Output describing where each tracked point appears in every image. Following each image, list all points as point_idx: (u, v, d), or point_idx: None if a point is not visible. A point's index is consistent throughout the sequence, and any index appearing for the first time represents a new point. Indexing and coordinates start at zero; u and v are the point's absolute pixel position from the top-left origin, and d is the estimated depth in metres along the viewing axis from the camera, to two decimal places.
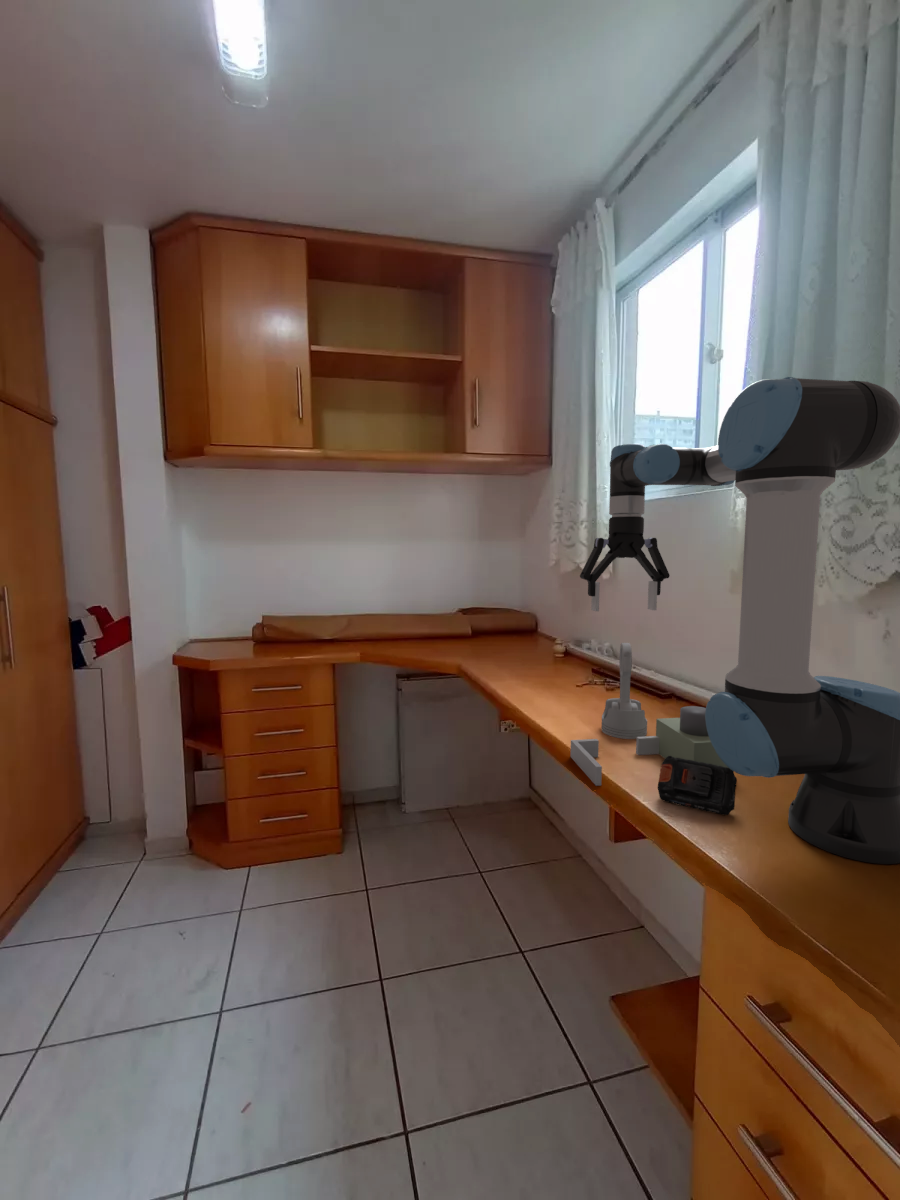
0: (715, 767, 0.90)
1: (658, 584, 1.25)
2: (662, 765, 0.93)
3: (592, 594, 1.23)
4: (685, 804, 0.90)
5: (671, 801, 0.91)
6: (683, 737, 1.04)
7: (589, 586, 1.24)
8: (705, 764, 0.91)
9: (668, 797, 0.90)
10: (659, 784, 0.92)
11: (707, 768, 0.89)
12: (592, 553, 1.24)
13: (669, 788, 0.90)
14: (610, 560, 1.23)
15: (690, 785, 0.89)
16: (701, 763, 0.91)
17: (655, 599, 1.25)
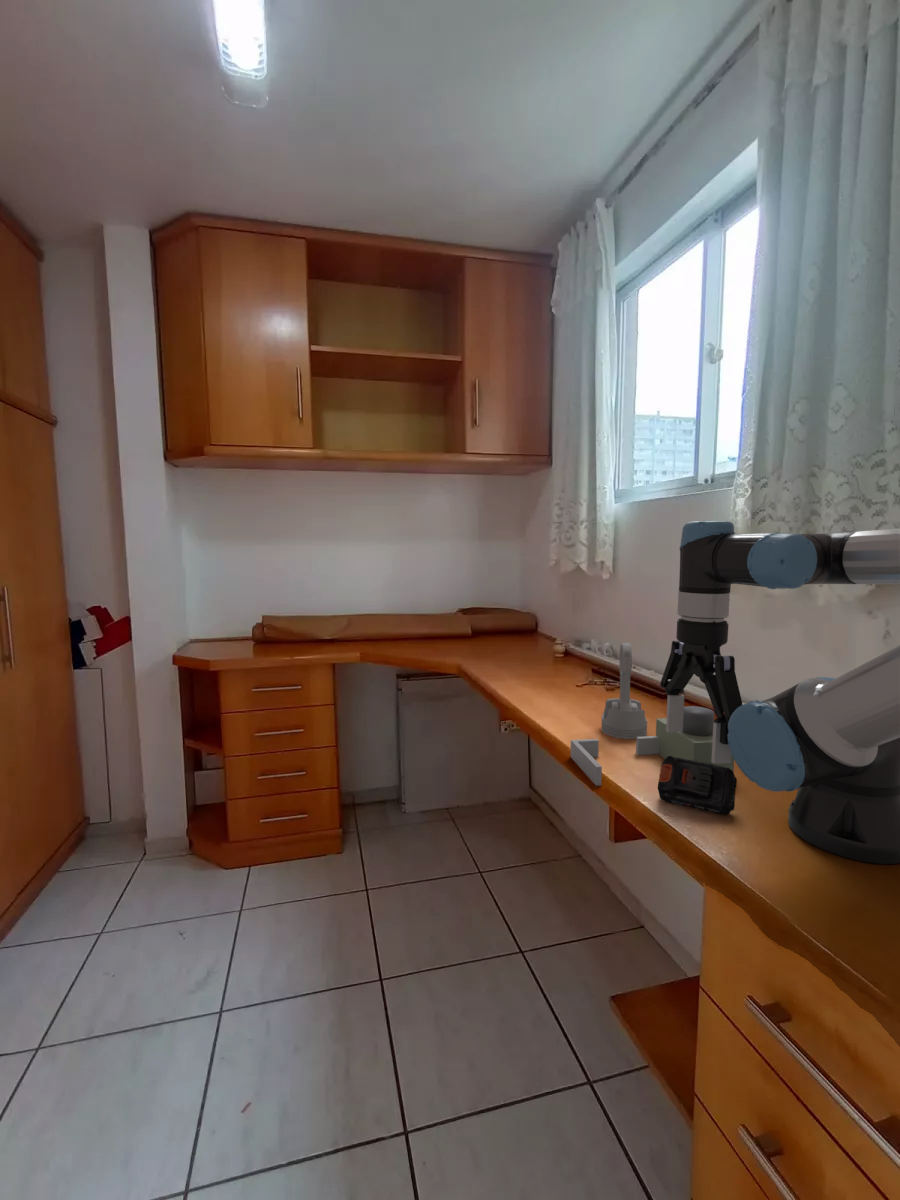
0: (715, 767, 0.90)
1: (723, 728, 0.82)
2: (662, 765, 0.93)
3: None
4: (685, 804, 0.90)
5: (671, 801, 0.91)
6: (683, 737, 1.04)
7: None
8: (705, 764, 0.91)
9: (668, 797, 0.90)
10: (659, 784, 0.92)
11: (707, 768, 0.90)
12: None
13: (669, 788, 0.90)
14: (679, 672, 0.93)
15: (690, 785, 0.89)
16: (701, 763, 0.91)
17: (713, 747, 0.83)
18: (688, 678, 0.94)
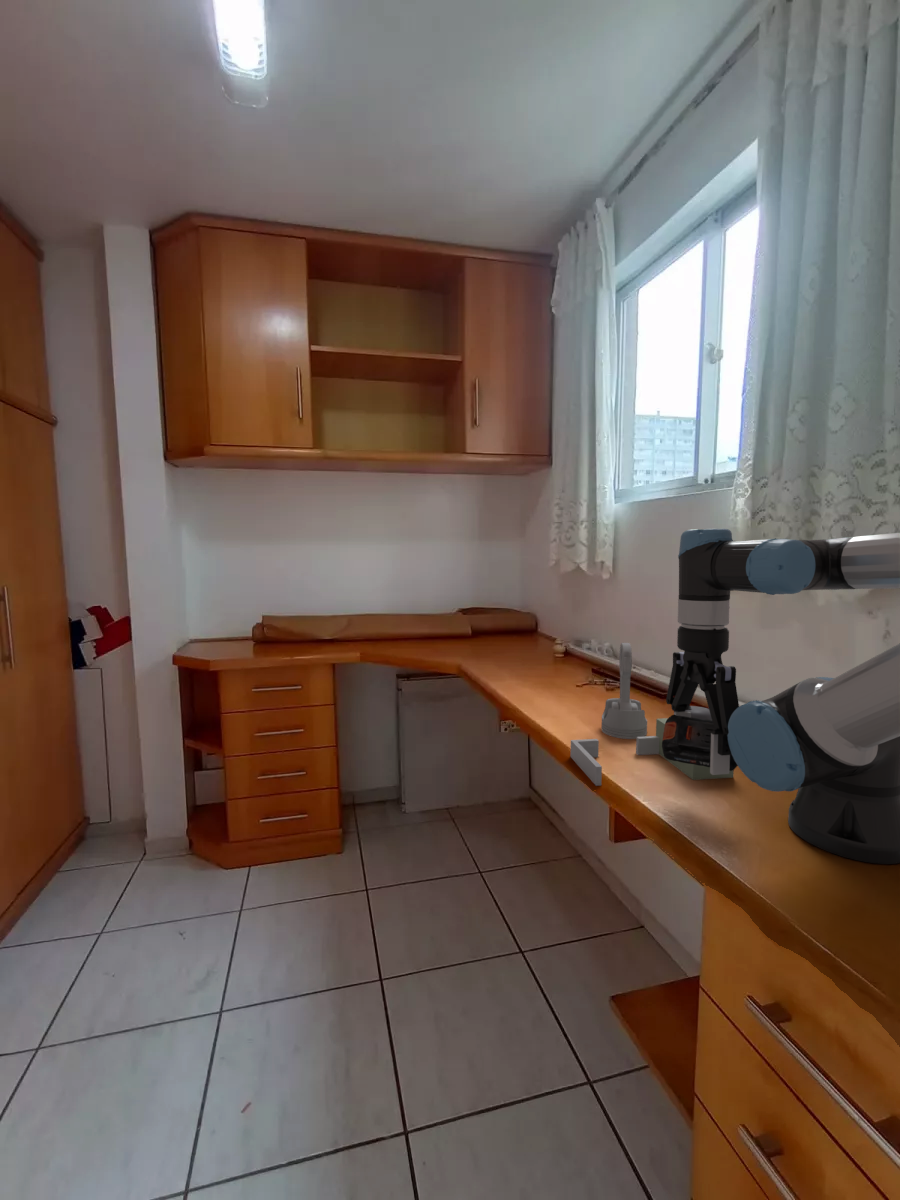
0: None
1: (720, 739, 0.83)
2: (666, 723, 0.92)
3: None
4: (690, 761, 0.89)
5: (675, 759, 0.90)
6: None
7: None
8: (709, 721, 0.90)
9: (672, 754, 0.89)
10: (663, 742, 0.90)
11: (712, 724, 0.88)
12: None
13: (673, 745, 0.89)
14: (683, 684, 0.92)
15: (695, 741, 0.88)
16: (705, 720, 0.90)
17: (712, 758, 0.84)
18: (693, 690, 0.93)
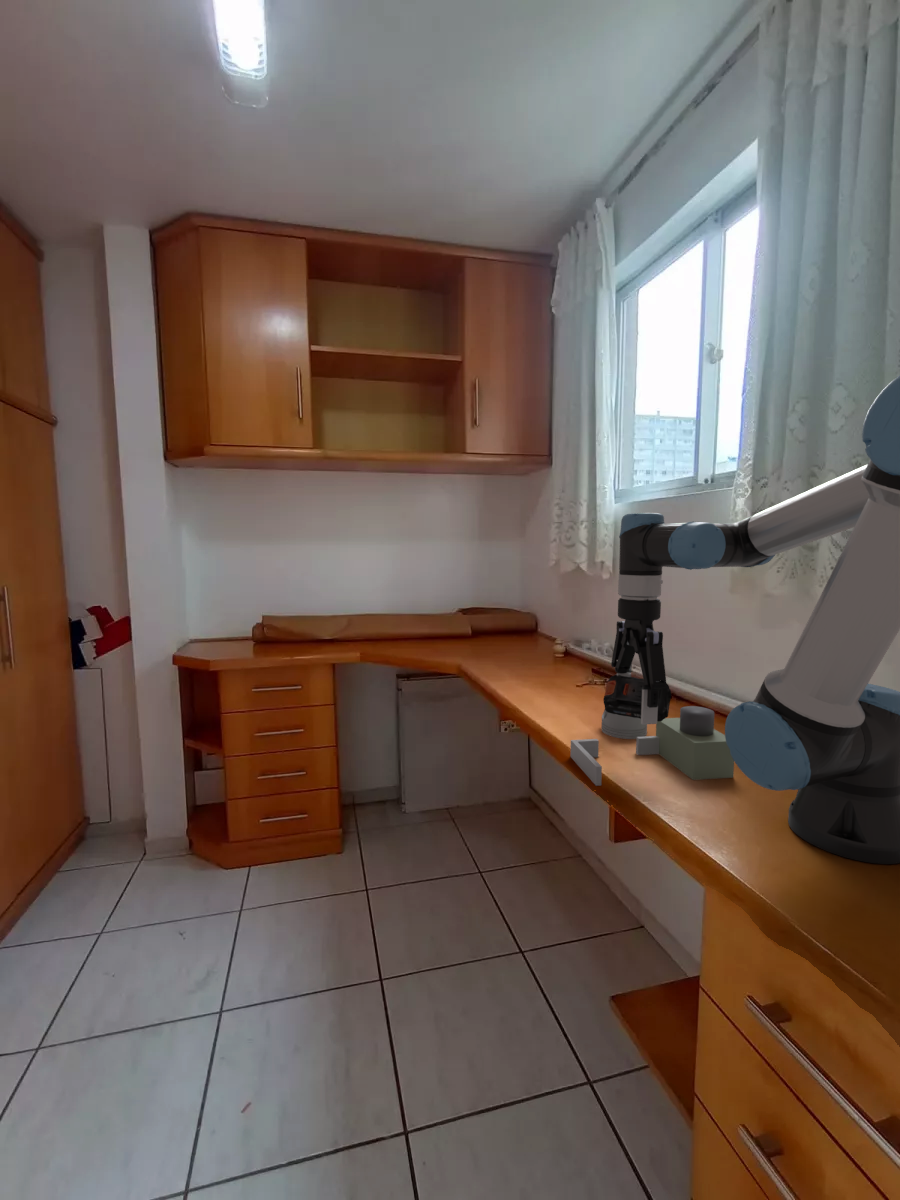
0: None
1: (649, 694, 0.97)
2: (608, 682, 1.06)
3: None
4: (626, 714, 1.03)
5: (615, 712, 1.04)
6: (683, 737, 1.04)
7: None
8: None
9: (611, 708, 1.03)
10: (604, 697, 1.04)
11: None
12: None
13: (612, 700, 1.03)
14: (623, 648, 1.06)
15: (630, 696, 1.02)
16: (641, 679, 1.04)
17: (642, 710, 0.98)
18: (632, 654, 1.07)
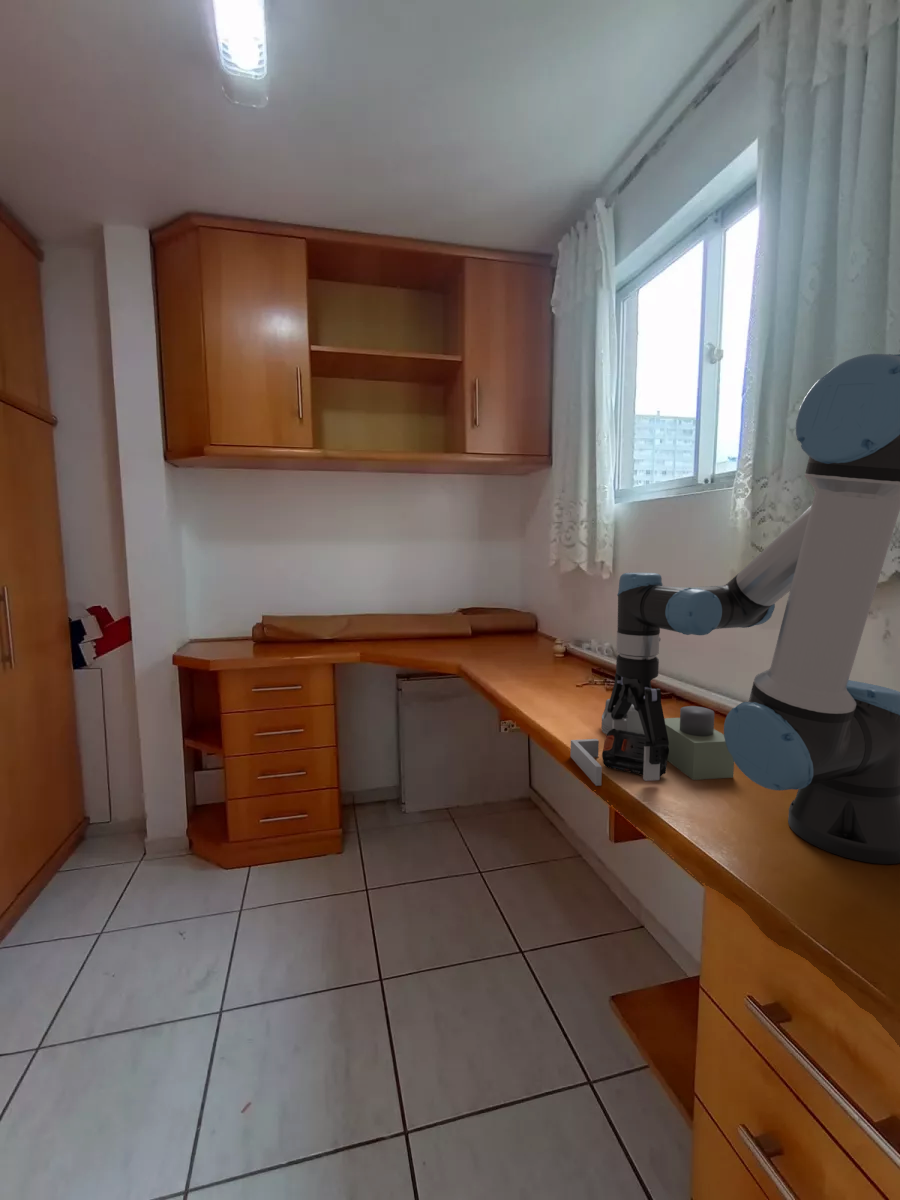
0: None
1: (651, 750, 0.97)
2: (606, 736, 1.07)
3: None
4: (624, 769, 1.04)
5: (613, 767, 1.05)
6: (683, 737, 1.04)
7: None
8: (642, 735, 1.05)
9: (610, 763, 1.04)
10: (603, 752, 1.05)
11: (643, 738, 1.03)
12: None
13: (610, 755, 1.04)
14: (620, 700, 1.08)
15: (628, 752, 1.03)
16: (639, 734, 1.05)
17: (644, 766, 0.98)
18: (629, 705, 1.08)
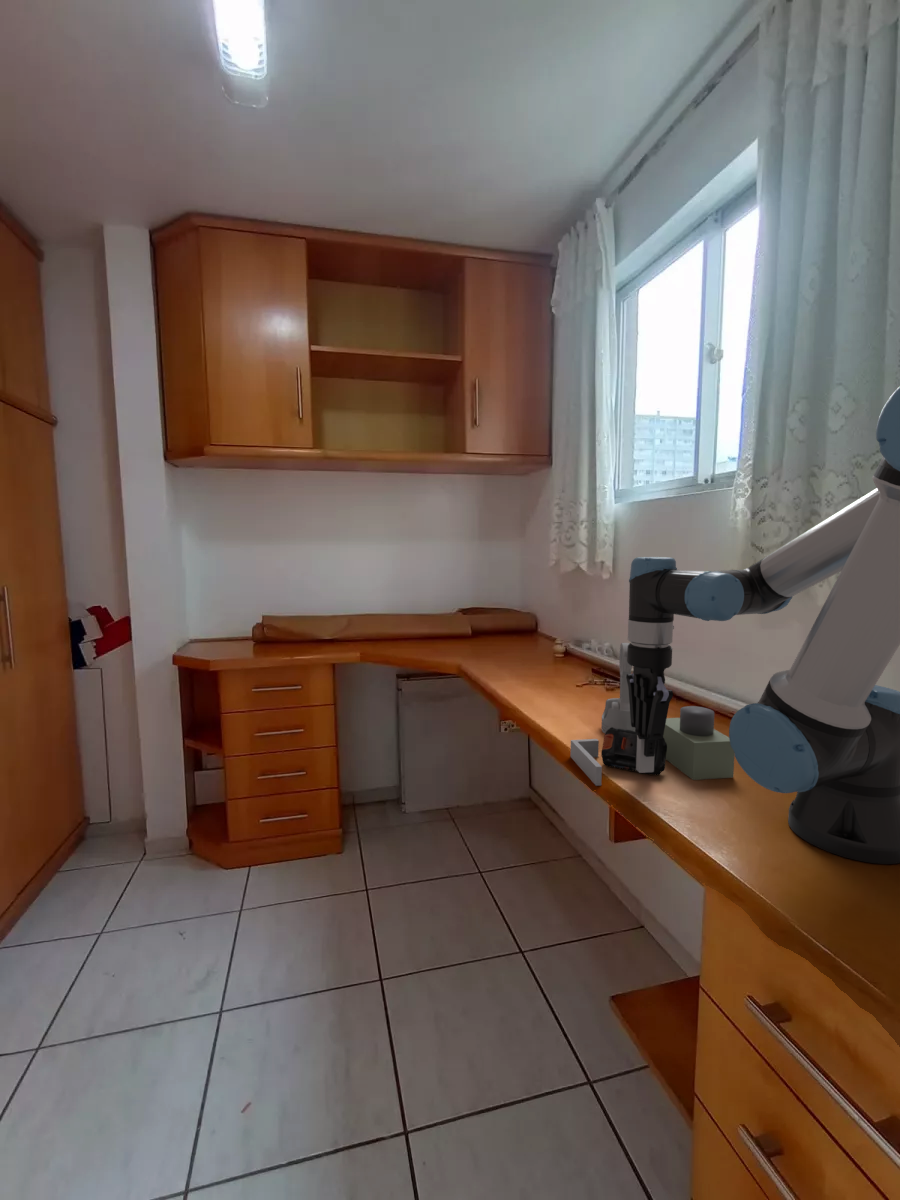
0: None
1: (646, 743, 0.98)
2: (605, 735, 1.08)
3: None
4: (624, 767, 1.05)
5: (612, 766, 1.06)
6: (683, 737, 1.04)
7: None
8: None
9: (610, 762, 1.05)
10: (602, 751, 1.06)
11: None
12: None
13: (610, 754, 1.04)
14: (638, 701, 1.00)
15: (628, 750, 1.03)
16: None
17: (639, 759, 1.00)
18: None
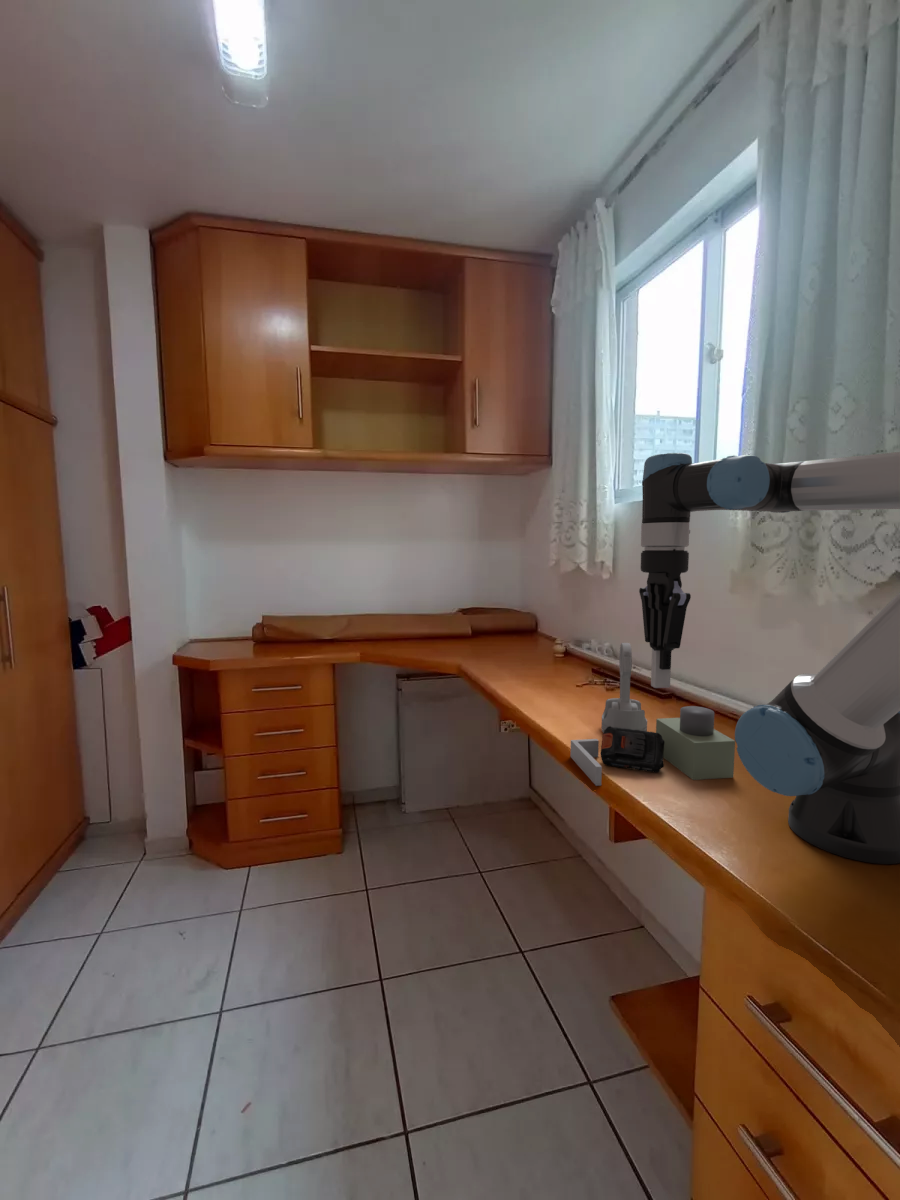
0: (647, 733, 1.06)
1: (661, 655, 0.93)
2: (604, 734, 1.08)
3: None
4: (624, 766, 1.06)
5: (612, 765, 1.07)
6: (683, 737, 1.04)
7: None
8: (639, 731, 1.07)
9: (610, 761, 1.05)
10: (602, 750, 1.06)
11: (641, 734, 1.06)
12: None
13: (611, 753, 1.05)
14: (652, 612, 0.94)
15: (628, 749, 1.04)
16: (635, 730, 1.07)
17: (654, 673, 0.94)
18: None
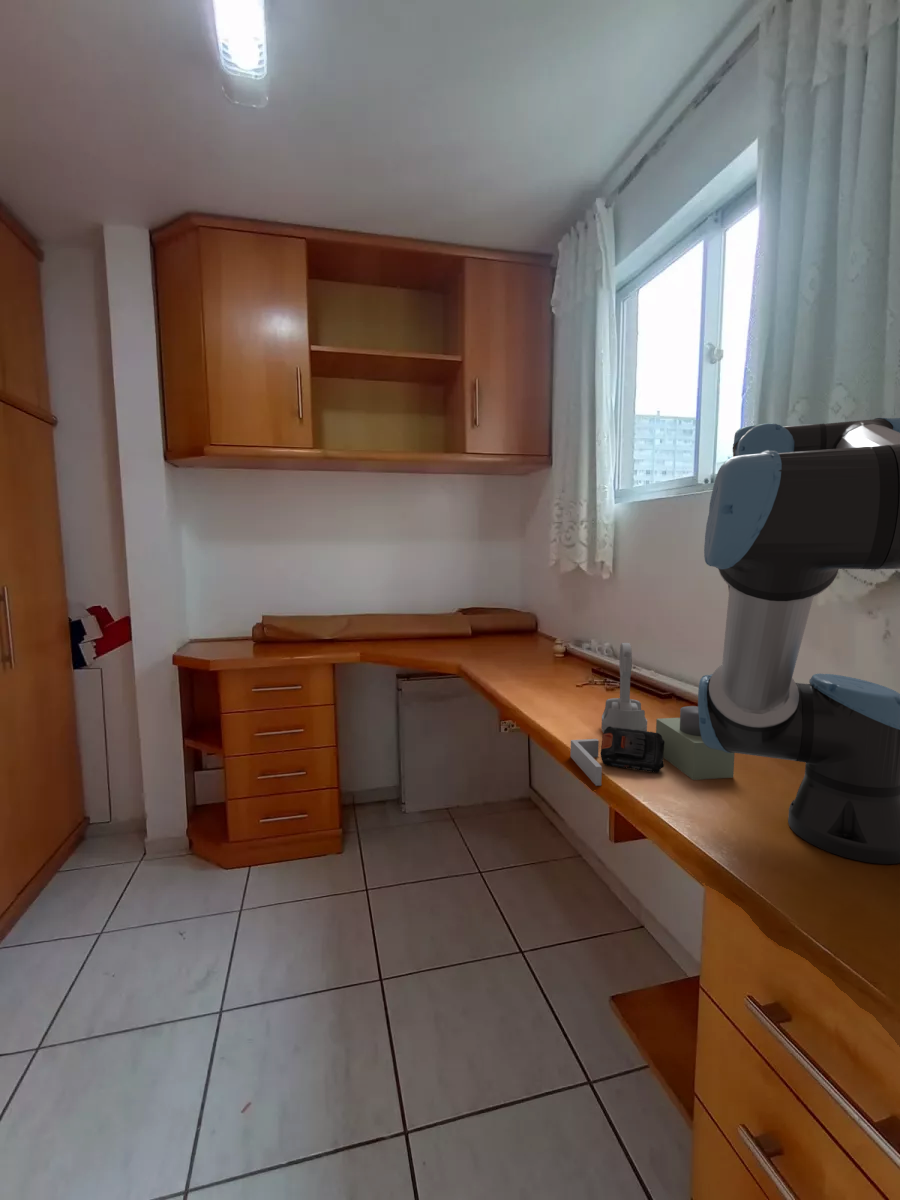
0: (647, 733, 1.06)
1: None
2: (604, 734, 1.08)
3: None
4: (624, 766, 1.06)
5: (612, 765, 1.07)
6: (683, 737, 1.04)
7: None
8: (639, 731, 1.07)
9: (610, 761, 1.05)
10: (602, 750, 1.06)
11: (641, 734, 1.06)
12: None
13: (611, 753, 1.05)
14: None
15: (628, 749, 1.04)
16: (635, 730, 1.07)
17: None
18: None
